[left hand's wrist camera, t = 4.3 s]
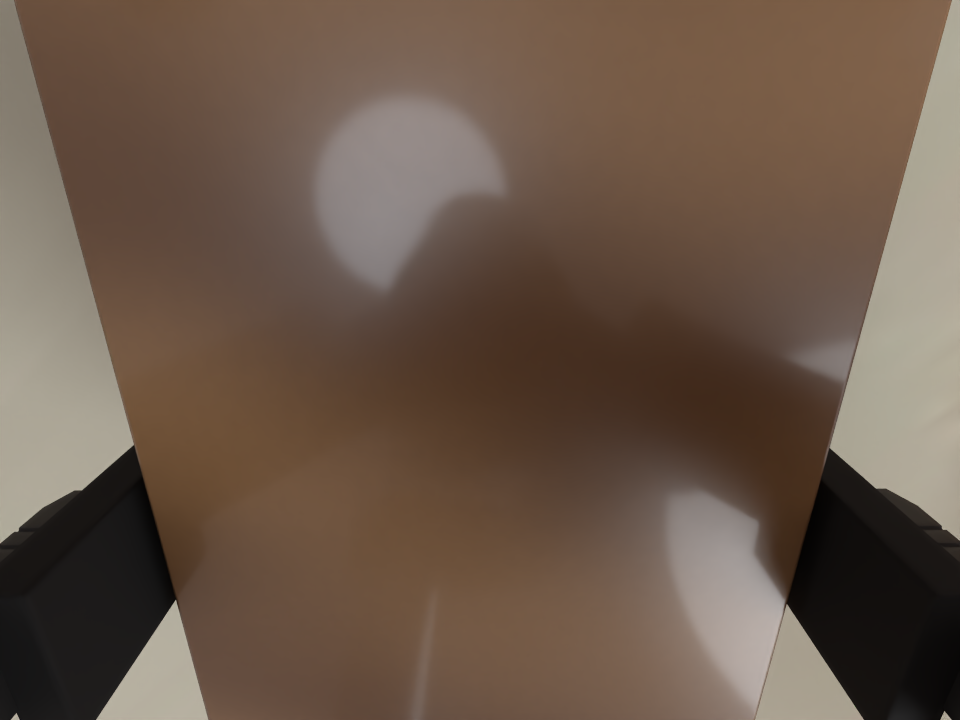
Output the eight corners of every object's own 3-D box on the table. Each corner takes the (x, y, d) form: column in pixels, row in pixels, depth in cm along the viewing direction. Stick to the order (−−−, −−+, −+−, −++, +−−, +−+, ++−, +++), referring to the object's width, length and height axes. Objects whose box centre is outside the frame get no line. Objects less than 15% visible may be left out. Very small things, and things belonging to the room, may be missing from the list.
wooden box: (231, -237, 11) (-257, -983, 4) (731, -237, 11) (1225, -978, 4) (322, 482, 18) (207, 726, 10) (639, 481, 18) (755, 726, 10)
